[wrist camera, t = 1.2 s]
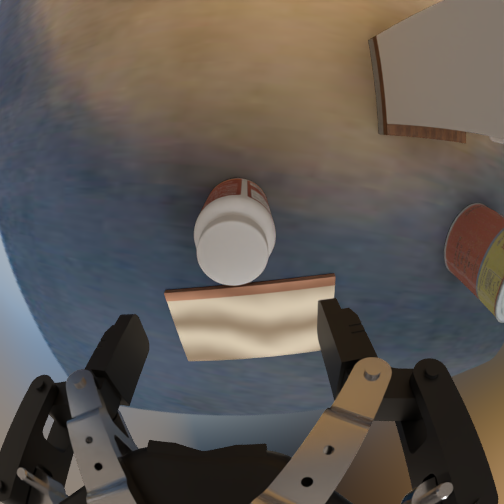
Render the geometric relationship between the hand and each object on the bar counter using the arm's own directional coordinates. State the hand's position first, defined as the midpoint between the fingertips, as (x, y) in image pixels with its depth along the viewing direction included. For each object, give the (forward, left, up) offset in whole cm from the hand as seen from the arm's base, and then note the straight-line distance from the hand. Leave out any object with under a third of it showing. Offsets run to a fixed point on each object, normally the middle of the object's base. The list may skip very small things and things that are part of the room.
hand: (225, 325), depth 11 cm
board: (+15, 0, -18) cm, 23 cm away
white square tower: (-12, +21, -18) cm, 30 cm away
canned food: (+7, +32, -18) cm, 37 cm away
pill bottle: (0, 0, -18) cm, 18 cm away
